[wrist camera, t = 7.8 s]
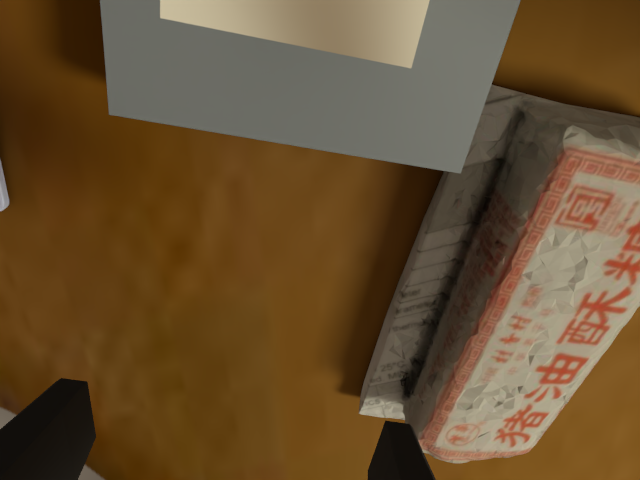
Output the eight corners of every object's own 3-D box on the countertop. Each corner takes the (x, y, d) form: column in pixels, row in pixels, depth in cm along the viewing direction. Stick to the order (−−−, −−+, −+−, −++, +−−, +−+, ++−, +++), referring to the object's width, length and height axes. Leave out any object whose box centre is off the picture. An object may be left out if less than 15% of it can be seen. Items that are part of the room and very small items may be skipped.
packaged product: (514, 104, 12) (821, 173, 13) (468, 76, 17) (703, 129, 17) (359, 471, 21) (549, 499, 22) (355, 392, 26) (515, 418, 26)
